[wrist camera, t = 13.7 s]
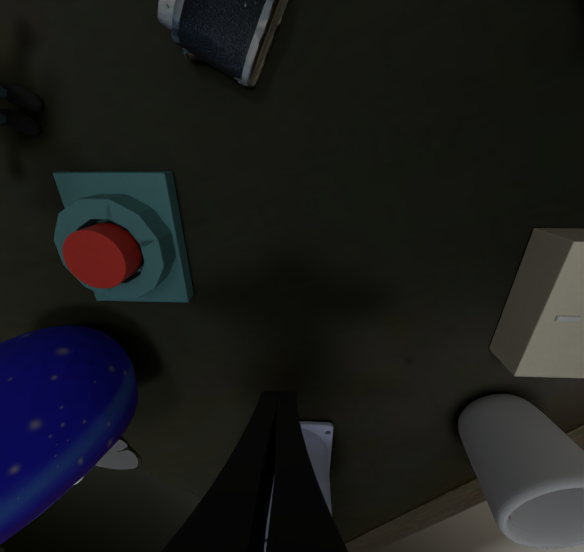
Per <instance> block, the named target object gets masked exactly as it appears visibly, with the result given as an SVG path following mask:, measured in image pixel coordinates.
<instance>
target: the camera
mask: <svg viewBox="0 0 584 552" xmlns="http://www.w3.org/2000/svg"><path fill="white" fill-rule="evenodd" d="M287 3H288V0H159V4H158V19H159V22H160V23H161V24H162V25H163V26H165V27H166V28H168V29H170V30H171V34H172V37H173V40H174V42H175V44H176V45H180V46H181V47H182V50H183V54H184V56H185V58H187V59H189V60H202V61H204V62H206V63H208V64H209V65H211V66H213V67H215V68H216V69H218V70H220V71H221V72H223V73H225V74H226V75H228V76H230V77H232V78H234V79H236V80H237V81H238V82H239V83H240V84H242V85H245V86H248V87H254V86H255V84H256V82H257V80H258V78H259V76H260V74H261V72H262V69H263V67H264V64H265V61H266V58H267V56H268V53H269V51H270V48H271V45H272V43H273V40H274V37H275V35H276V32H277V29H278V26H279V24H280V22H281V19H282V16H283V14H284V11H285V8H286V6H287Z"/></svg>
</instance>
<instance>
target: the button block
mask: <svg viewBox="0 0 584 552" xmlns="http://www.w3.org/2000/svg"><path fill="white" fill-rule="evenodd" d="M53 176H54V179H55V181H56V184H57V187H58V190H59V193H60V196H61V199H62V202H63V205H64V208H65V209H64V210H63V211H61V212H60V213H59V215H58V219H57V224H56V229H55V234H54V242H55V244H56V247H57V250H58V252H59V255H60V258H61V260H62V263H63V265H64V266H65V267H66V268H67V269H68V267H67V265H66V263H65V261H64V258H63V253H62V248H63V243H64V241H65V239H66V238H67V237H68V236H69V235H70V234H71V233H73V232H75V231H78V230H81V229H83V228H86V227H89V226H92V225H95V224H98V223H111V224H115V225H118V226H120V227H122V228H124V229H125V230H126V231H128V232H129V233H130V234H131V235H132V236H133V237H134V238H135V240H136V241H137V243H138V245H139V247H140V250H141V254H142V261H141V265H140V267H139V269H138V270H137V271H136V272H135V273H134V274H132V275H131V276H130V277H128V278H127V279H126V280H124V281H123V282H121V283H120V284H119V285H117V286H115V287H112V288H106V289H102V288H95V287H92V286H89V285H87V284H85V283H83V282H82V281H80V280H79V279H78V278H77V279H78V280H79V281H80V282H81V283H82V284H83V285H84V286H85V287H86V288H89V289H91V290H93V291H94V294H95V297H96V300H97V301H144V302H189V301H190V299H191V298H192V297H193V295H194V293H193V287H192V281H191V275H190V270H189V264H188V258H187V252H186V247H185V241H184V235H183V229H182V224H181V218H180V212H179V206H178V201H177V195H176V189H175V183H174V178H173V172H172V171H65V172H54V173H53ZM68 270H69V269H68ZM69 271H70V270H69ZM70 272H71V271H70ZM71 273H72V272H71Z"/></svg>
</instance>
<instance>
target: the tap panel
mask: <svg viewBox="0 0 584 552" xmlns="http://www.w3.org/2000/svg"><path fill="white" fill-rule="evenodd" d="M489 350H490V351H491V352H492V353H493V354H494V355H495V356H496V357H497V358H498V359H499V360H500V361H501V363H502V364H503V365H504V366H505V367H506V368H507V369H508V370H509V371H510V372H511V373H512V374H513V376H522V377H557V378H584V228H534V229H533V232H532V235H531V237H530V240H529V243H528V245H527V248H526V251H525V253H524V256H523V259H522V261H521V264H520V267H519V269H518V272H517V275H516V277H515V280H514V283H513V286H512V288H511V291H510V294H509V296H508V299H507V302H506V304H505V307H504V310H503V312H502V315H501V318H500V320H499V323H498V326H497V328H496V331H495V334H494V337H493V339H492V342H491V345H490V347H489Z"/></svg>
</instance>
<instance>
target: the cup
mask: <svg viewBox="0 0 584 552" xmlns="http://www.w3.org/2000/svg"><path fill="white" fill-rule="evenodd" d="M458 429H459V434H460V437H461V440H462V443H463V445H464V448H465V450H466V452H467V455H468V457H469V459H470V462H471V464H472V467H473V469H474V471H475V474H476V476H477V478H478V481H479V483H480V486H481V488H482V490H483V493H484V495H485V497H486V500H487V502H488V504H489V507H490V509H491V512H492V514H493V516H494V519H495V521H496V523H497V525H498V527H499V529H500V530H501V532H502V533H503V534H504V535H505V536H506V537H508V538H509V539H510V540H512V541H514V542H516V543H518V544H521V545H525V546H529V547H535V548H564V547H572V546H576V545H581V544H584V451H583V450H582V449H581V448H580V447H579V446H578V445H577V444H576V443H575V442H573V441H572V440H571V439H570V438H569V437H568V436H567V435H566V434H565V433H564V432H563V431H562V430H561V429H559V428H558V427H557V426H556V425H555V424H554V423H553V422H552V421H551V420H550V419H549V418H548V417H547V416H546V415H544V414H543V413H542V412H541V411H540V410H539V409H538V408H536V407H535V406H534V405H533V404H531V403H530V402H528V401H526V400H525V399H523V398H521V397H518V396H515V395H510V394H492V395H488V396H484V397H481V398H479V399H477V400H475V401H473V402H472V403H470V404H469V405H468V406H467V407H466V408H465V409H464V410H463V411H462V413H461V415H460V417H459V421H458Z"/></svg>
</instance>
